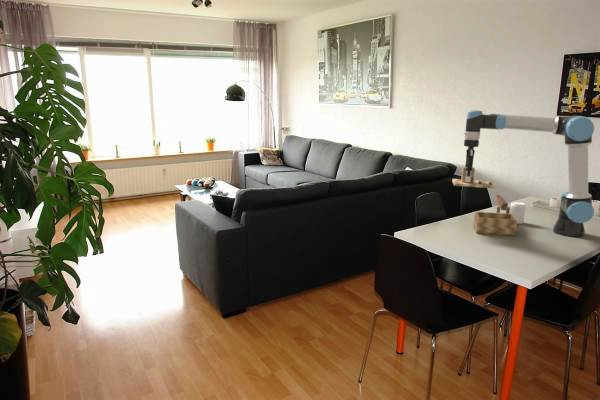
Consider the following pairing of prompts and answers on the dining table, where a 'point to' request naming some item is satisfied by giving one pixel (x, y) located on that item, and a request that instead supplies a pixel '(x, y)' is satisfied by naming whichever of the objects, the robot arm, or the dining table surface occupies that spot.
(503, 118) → the robot arm
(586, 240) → the dining table surface
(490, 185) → the lid
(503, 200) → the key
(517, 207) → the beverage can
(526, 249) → the dining table surface
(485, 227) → the wicker basket
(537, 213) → the dining table surface
